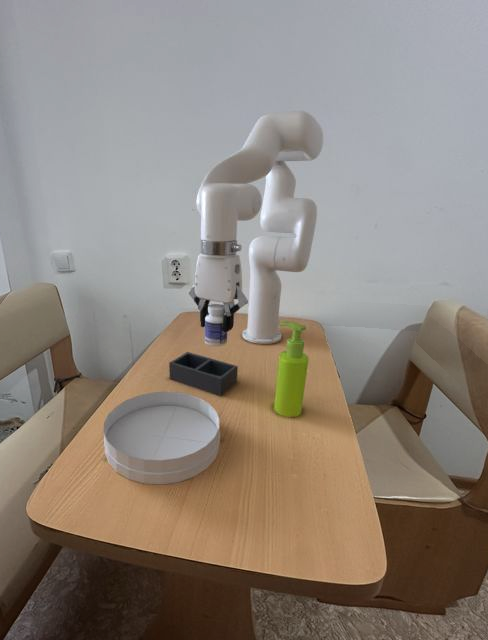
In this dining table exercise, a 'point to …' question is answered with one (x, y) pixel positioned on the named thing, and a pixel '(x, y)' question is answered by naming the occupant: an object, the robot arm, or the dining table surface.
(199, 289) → the robot arm
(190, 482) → the dining table surface
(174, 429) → the dish
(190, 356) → the holder
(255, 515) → the dining table surface
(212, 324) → the pill bottle
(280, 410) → the soap dispenser
